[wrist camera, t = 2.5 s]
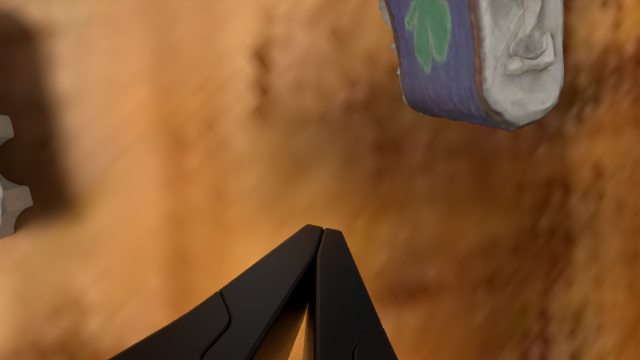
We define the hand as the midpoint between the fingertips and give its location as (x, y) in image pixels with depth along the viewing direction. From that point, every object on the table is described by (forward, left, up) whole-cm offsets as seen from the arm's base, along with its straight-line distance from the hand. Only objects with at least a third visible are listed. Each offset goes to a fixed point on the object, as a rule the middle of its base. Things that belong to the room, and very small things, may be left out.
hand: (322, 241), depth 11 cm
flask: (+8, -6, -12) cm, 15 cm away
